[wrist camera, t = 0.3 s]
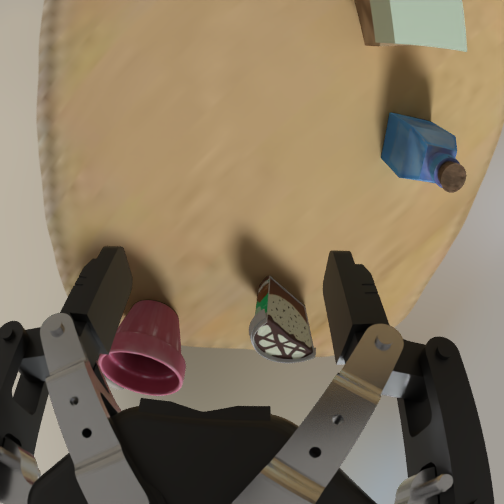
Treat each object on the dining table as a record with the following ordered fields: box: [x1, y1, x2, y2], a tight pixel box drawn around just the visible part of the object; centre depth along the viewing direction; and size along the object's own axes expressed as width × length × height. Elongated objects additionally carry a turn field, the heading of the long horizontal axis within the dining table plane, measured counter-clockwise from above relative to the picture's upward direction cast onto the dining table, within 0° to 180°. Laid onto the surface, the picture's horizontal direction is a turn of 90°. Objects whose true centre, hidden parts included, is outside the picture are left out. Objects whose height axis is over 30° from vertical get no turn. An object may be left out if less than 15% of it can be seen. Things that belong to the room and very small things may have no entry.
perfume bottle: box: [381, 112, 466, 193], centre depth 30 cm, size 6×6×12 cm
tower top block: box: [370, 0, 467, 52], centre depth 20 cm, size 8×8×5 cm
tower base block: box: [355, 0, 408, 46], centre depth 24 cm, size 8×8×5 cm
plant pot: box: [98, 300, 186, 396], centre depth 50 cm, size 14×14×13 cm
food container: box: [249, 275, 316, 363], centre depth 48 cm, size 12×6×10 cm, turn 42°
